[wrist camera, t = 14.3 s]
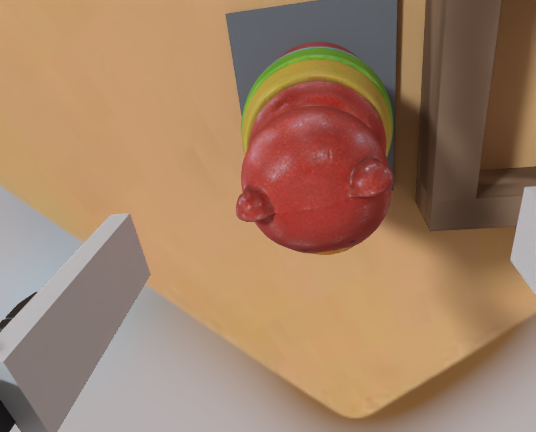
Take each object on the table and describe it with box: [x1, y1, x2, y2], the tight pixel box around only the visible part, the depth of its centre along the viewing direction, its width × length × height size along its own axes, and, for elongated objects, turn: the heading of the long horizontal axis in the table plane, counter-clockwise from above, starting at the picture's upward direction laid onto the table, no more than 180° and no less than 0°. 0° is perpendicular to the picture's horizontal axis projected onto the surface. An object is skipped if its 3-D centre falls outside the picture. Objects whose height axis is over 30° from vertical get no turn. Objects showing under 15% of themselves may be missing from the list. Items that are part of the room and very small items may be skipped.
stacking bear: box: [236, 42, 394, 255], centre depth 23 cm, size 11×10×18 cm
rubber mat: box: [226, 0, 397, 190], centre depth 31 cm, size 12×15×1 cm
